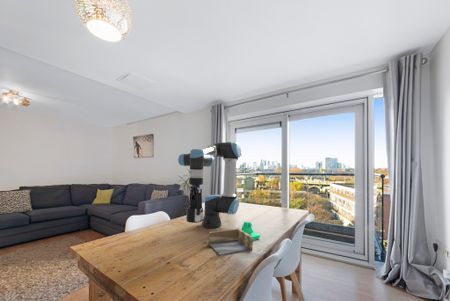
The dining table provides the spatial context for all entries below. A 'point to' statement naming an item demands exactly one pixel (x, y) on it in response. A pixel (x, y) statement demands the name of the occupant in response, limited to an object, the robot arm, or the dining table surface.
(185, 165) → the robot arm
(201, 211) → the ink bottle
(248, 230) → the camera mount
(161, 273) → the dining table surface
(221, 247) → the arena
